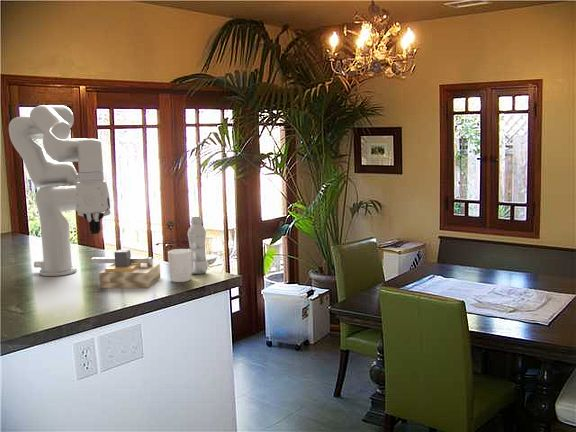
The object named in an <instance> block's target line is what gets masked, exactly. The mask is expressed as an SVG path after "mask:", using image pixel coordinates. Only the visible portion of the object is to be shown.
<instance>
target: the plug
mask: <svg viewBox="0 0 576 432" xmlns="http://www.w3.org/2000/svg"><path fill="white" fill-rule="evenodd" d="M113 255H114V258H115V263H111V265H109V266H107V267H106V268H105V269H104V270H105V272H132V271H134V270H135V269H137V268H138V267H140V266H141V263H131V258H132V256H131V255H132V254H131V249H118V250H116V251H114V253H113Z"/></svg>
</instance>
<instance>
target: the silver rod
mask: <svg viewBox="0 0 576 432" xmlns="http://www.w3.org/2000/svg"><path fill="white" fill-rule="evenodd" d="M90 261H91V264H114V263H115V257H92V258H91V260H90ZM153 261H154V260H153V257H152V256H148V257H131V263H147V266H153V263H154V262H153Z"/></svg>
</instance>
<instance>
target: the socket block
mask: <svg viewBox="0 0 576 432" xmlns="http://www.w3.org/2000/svg"><path fill="white" fill-rule="evenodd" d="M98 277H99V288H100V289H109V288H110V289H149V287H151V286H152V285H154V283H155V282H157V281H158V280H159V279H160V278H161V265H160V263H157V262H156V263H155V262H153V266H147V263H141V266H140V267H138V268H137V269H135V270H134V271H132V272H105V269H103V270H101V271H99V272H98Z"/></svg>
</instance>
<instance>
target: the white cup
mask: <svg viewBox="0 0 576 432" xmlns="http://www.w3.org/2000/svg"><path fill="white" fill-rule="evenodd" d="M167 259H168V268H169V274H170V281H171V282H173V283H184V282H188V281H190V280H191V277H192V275H191V274H192V273H191V250H190V248H175V249H171V250H168V251H167Z"/></svg>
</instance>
